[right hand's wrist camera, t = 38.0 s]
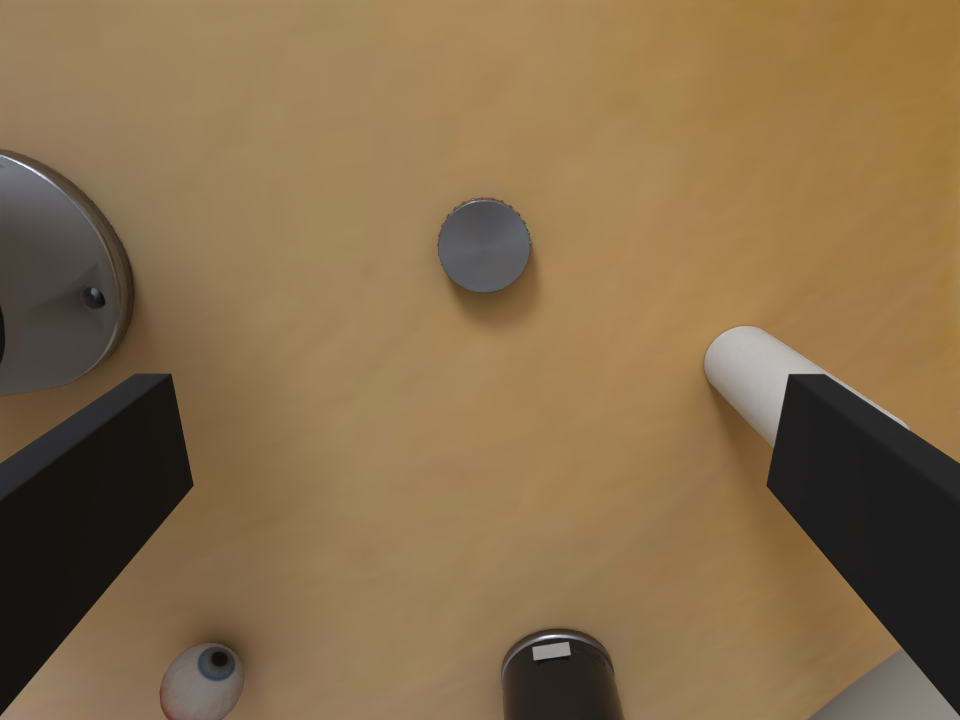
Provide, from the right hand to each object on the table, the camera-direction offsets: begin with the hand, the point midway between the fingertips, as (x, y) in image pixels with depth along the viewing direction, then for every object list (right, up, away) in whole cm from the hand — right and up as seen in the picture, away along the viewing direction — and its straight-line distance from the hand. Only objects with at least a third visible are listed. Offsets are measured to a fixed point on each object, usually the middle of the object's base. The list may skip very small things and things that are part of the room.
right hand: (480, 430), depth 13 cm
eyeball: (-22, -23, +36) cm, 48 cm away
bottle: (+18, +2, +27) cm, 33 cm away
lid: (0, +9, +23) cm, 25 cm away
